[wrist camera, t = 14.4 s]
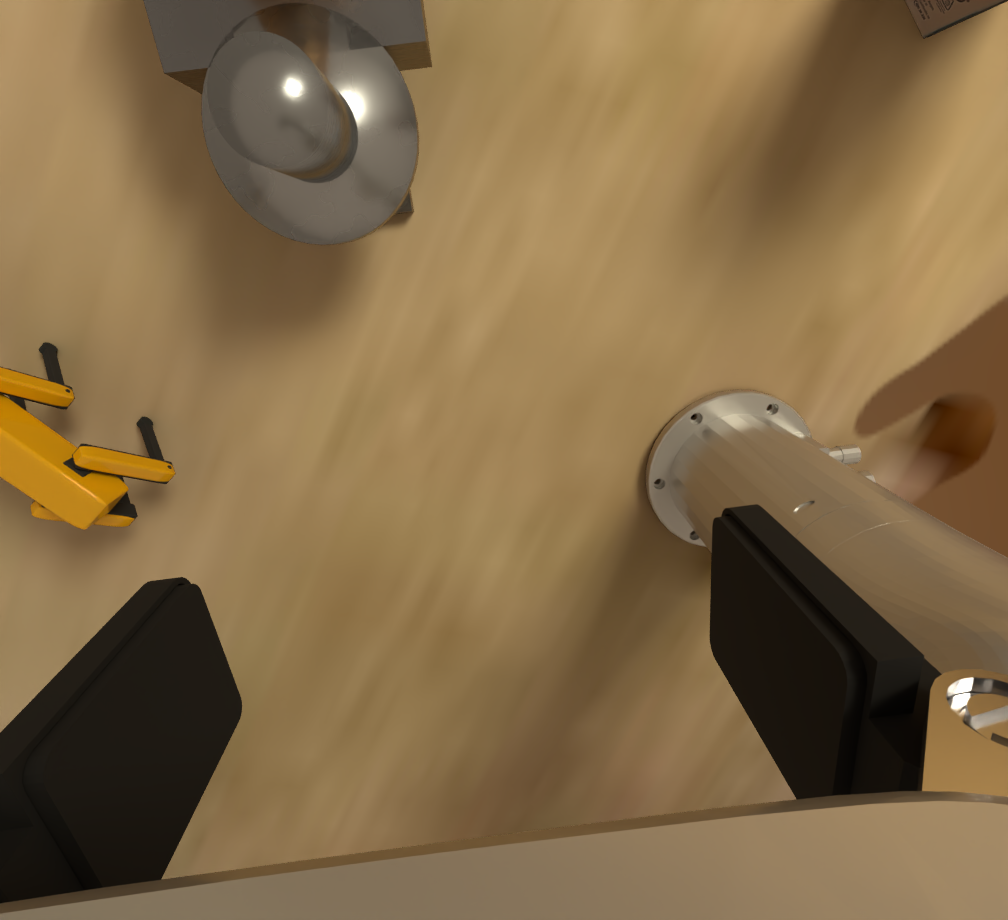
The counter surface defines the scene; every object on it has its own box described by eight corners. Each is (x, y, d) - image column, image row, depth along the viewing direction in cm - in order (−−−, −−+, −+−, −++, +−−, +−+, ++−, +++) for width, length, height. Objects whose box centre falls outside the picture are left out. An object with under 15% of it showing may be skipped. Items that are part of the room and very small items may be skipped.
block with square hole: (406, -136, 29) (352, -441, 16) (456, 232, 36) (447, 225, 23) (178, -109, 29) (-60, -393, 16) (270, 255, 36) (154, 262, 23)
